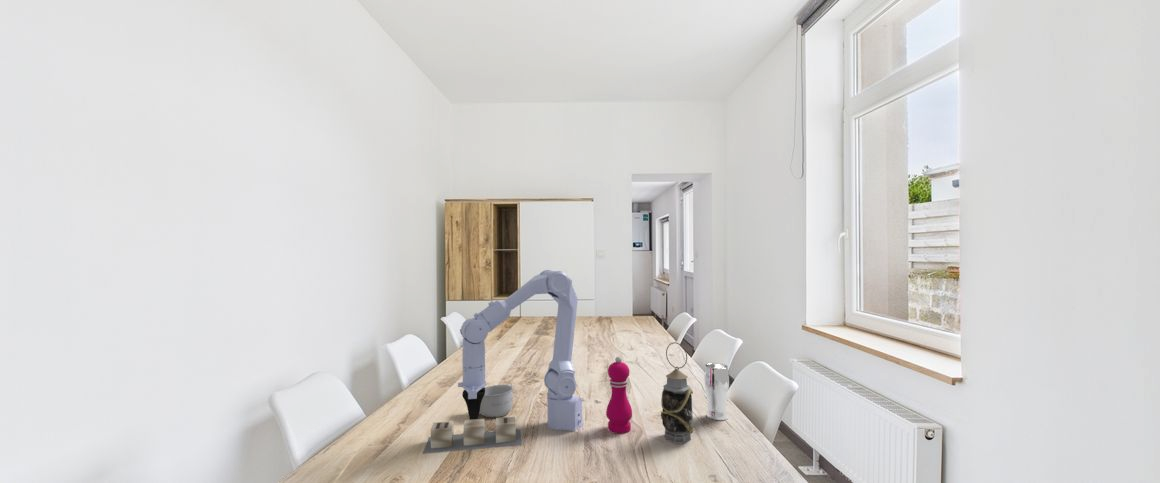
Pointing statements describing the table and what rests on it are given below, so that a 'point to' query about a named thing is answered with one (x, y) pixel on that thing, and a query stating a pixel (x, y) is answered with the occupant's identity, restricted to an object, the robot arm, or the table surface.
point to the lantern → (677, 406)
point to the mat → (459, 445)
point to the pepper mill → (619, 398)
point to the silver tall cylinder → (716, 390)
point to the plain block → (474, 432)
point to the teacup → (497, 401)
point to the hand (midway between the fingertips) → (474, 418)
